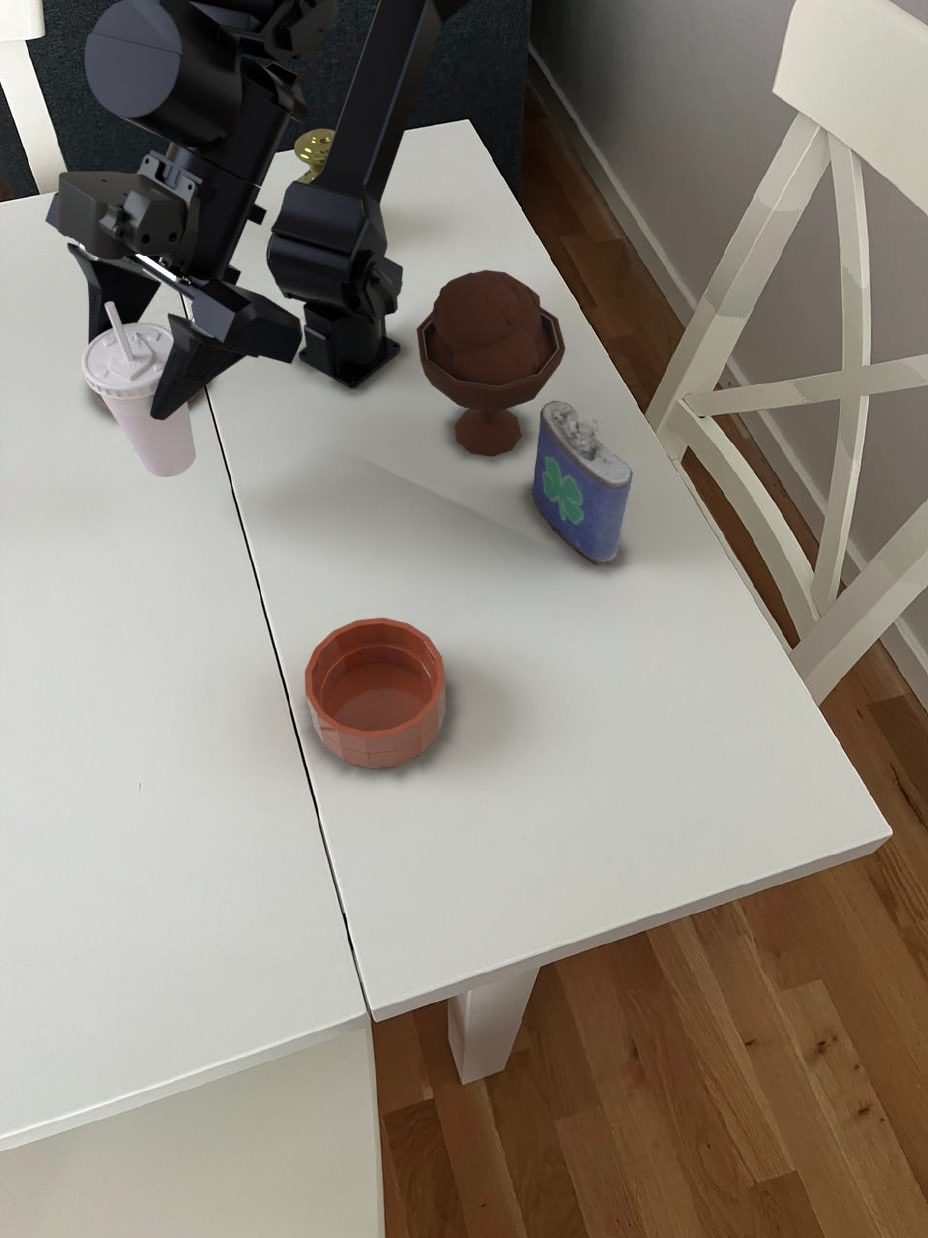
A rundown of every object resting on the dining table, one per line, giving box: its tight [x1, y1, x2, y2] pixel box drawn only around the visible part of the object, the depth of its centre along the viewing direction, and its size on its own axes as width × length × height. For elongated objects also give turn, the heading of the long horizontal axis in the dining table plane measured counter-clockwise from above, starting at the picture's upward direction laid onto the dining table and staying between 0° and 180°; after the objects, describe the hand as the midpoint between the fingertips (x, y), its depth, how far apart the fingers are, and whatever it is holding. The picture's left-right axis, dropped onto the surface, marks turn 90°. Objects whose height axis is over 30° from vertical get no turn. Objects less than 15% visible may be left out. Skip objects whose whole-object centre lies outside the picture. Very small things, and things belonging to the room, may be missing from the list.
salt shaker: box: [293, 128, 336, 184], centre depth 91 cm, size 7×7×10 cm
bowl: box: [304, 617, 447, 769], centre depth 64 cm, size 9×9×4 cm
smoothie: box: [81, 302, 197, 478], centre depth 66 cm, size 6×6×14 cm
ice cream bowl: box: [416, 269, 566, 457], centre depth 74 cm, size 11×11×15 cm
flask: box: [531, 400, 634, 567], centre depth 70 cm, size 9×3×11 cm, turn 32°
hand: (125, 394), depth 65 cm, fingers closed on smoothie, 6 cm apart
